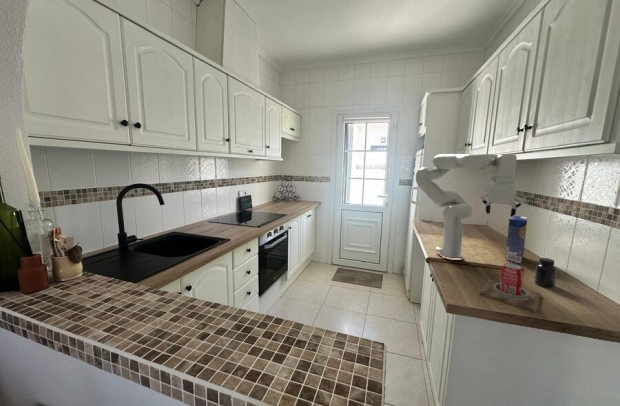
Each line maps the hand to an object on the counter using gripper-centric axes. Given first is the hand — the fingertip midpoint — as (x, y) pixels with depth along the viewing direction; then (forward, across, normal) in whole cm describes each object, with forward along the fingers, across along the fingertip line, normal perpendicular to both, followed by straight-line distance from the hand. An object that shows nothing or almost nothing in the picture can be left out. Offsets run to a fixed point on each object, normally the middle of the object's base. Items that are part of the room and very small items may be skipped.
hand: (499, 214), depth 123 cm
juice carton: (+30, +4, +28) cm, 41 cm away
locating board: (+30, +11, -23) cm, 39 cm away
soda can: (+28, +11, -23) cm, 38 cm away
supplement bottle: (+30, +19, -1) cm, 35 cm away
